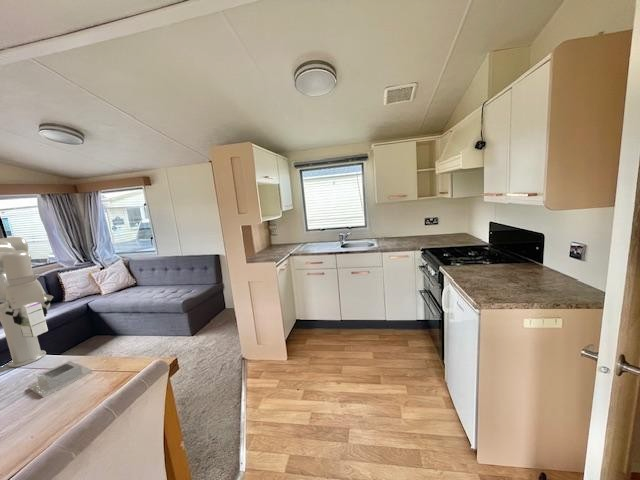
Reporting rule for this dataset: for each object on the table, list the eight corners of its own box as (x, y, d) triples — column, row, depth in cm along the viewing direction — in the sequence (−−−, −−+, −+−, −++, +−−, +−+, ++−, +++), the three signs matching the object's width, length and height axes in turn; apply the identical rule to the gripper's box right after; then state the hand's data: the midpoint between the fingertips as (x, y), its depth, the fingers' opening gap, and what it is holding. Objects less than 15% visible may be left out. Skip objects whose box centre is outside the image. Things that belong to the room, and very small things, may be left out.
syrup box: (49, 330, 114) (41, 300, 112) (33, 337, 109) (24, 305, 106) (38, 330, 115) (30, 300, 113) (21, 337, 109) (13, 306, 107)
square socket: (28, 388, 106) (26, 378, 106) (77, 365, 120) (75, 356, 120) (42, 397, 100) (40, 387, 100) (92, 372, 114) (90, 363, 114)
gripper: (46, 274, 117) (55, 310, 120) (-14, 287, 102) (-2, 328, 105) (53, 275, 114) (62, 312, 117) (-8, 288, 99) (4, 331, 101)
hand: (31, 319), depth 111 cm, fingers closed on syrup box, 7 cm apart
